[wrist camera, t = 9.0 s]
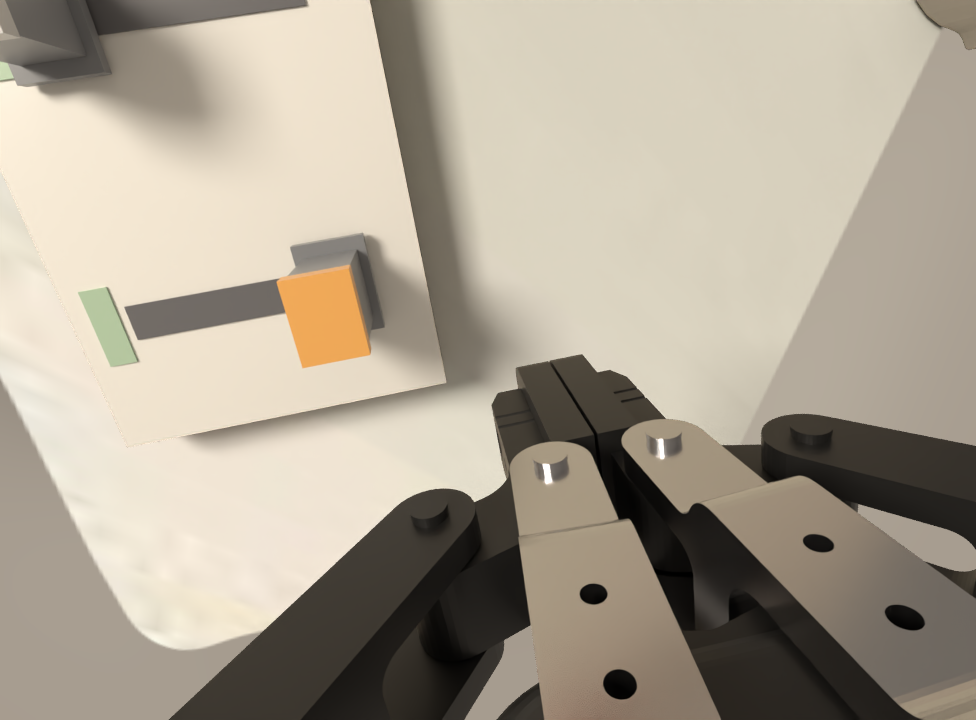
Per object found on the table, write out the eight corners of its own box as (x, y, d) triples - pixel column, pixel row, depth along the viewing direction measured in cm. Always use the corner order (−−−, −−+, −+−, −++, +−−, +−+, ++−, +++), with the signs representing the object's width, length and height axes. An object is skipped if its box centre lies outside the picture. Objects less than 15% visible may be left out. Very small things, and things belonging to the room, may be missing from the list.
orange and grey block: (385, 323, 27) (381, 365, 22) (318, 336, 27) (298, 381, 21) (363, 232, 25) (353, 253, 20) (292, 245, 25) (263, 269, 20)
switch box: (442, 362, 31) (446, 383, 29) (152, 420, 30) (126, 448, 27) (333, -179, 23) (324, -227, 20) (-83, -129, 21) (-158, -172, 18)
